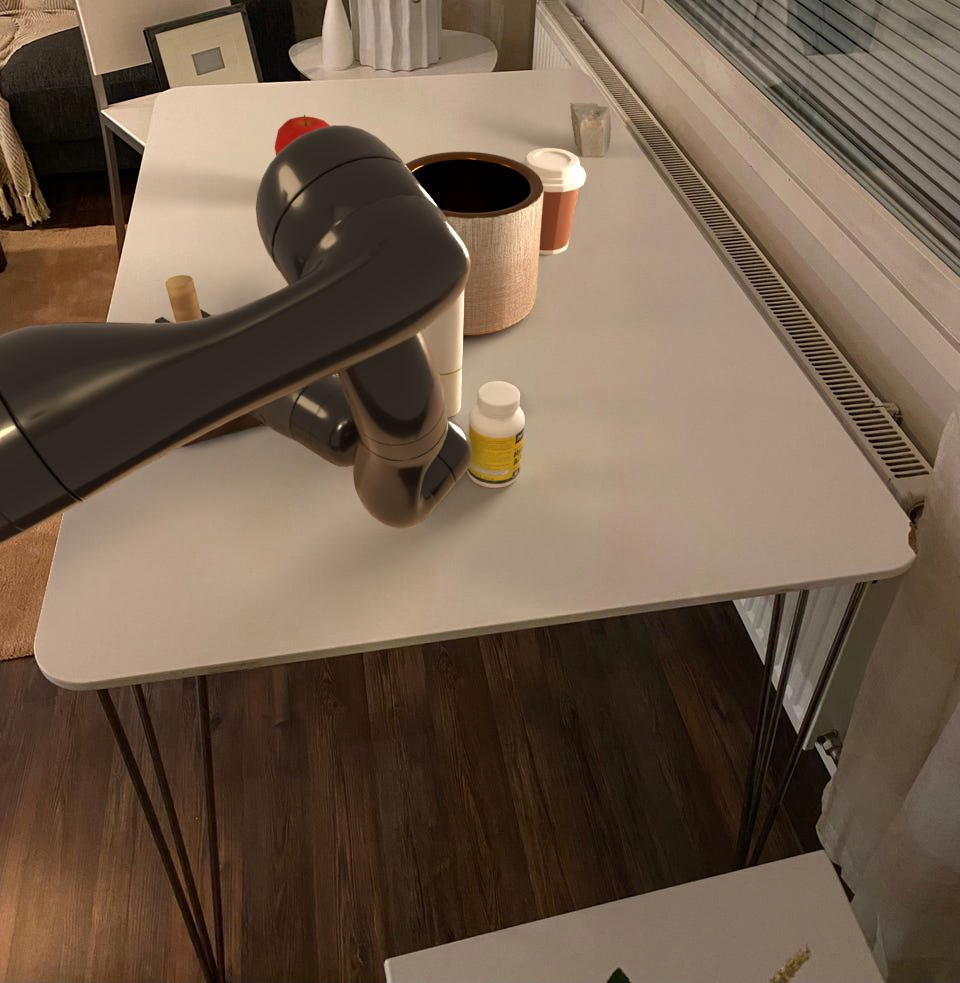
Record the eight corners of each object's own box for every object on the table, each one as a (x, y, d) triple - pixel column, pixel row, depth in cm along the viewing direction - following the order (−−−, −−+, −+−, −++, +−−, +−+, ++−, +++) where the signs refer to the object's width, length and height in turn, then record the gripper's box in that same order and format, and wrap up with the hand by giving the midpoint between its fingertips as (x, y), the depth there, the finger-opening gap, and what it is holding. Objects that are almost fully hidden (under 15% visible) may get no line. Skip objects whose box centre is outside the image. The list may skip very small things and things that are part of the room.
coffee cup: (588, 238, 134) (598, 153, 126) (561, 266, 128) (570, 179, 120) (528, 222, 137) (535, 138, 129) (500, 248, 131) (505, 163, 123)
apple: (356, 197, 141) (352, 115, 133) (308, 217, 136) (300, 132, 128) (315, 177, 145) (309, 96, 137) (267, 195, 140) (257, 112, 132)
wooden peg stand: (187, 411, 99) (155, 295, 91) (183, 389, 102) (151, 275, 94) (234, 401, 100) (206, 285, 92) (228, 379, 103) (200, 266, 96)
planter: (436, 356, 112) (437, 231, 101) (368, 285, 123) (363, 166, 112) (562, 318, 119) (576, 197, 108) (488, 254, 130) (493, 139, 119)
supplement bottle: (520, 491, 95) (527, 411, 88) (465, 488, 95) (468, 409, 88) (520, 455, 99) (526, 377, 92) (467, 453, 99) (470, 374, 92)
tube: (447, 423, 102) (449, 299, 92) (413, 409, 104) (412, 286, 94) (468, 402, 105) (472, 280, 95) (435, 389, 107) (436, 268, 97)
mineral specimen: (554, 140, 157) (569, 90, 152) (604, 151, 159) (620, 102, 154) (562, 157, 152) (578, 106, 147) (613, 168, 154) (630, 118, 149)
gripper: (338, 325, 92) (221, 262, 100) (220, 389, 84) (103, 314, 91) (342, 389, 97) (231, 324, 105) (232, 455, 89) (120, 379, 97)
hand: (172, 320), depth 98 cm, fingers closed on wooden peg stand, 2 cm apart
